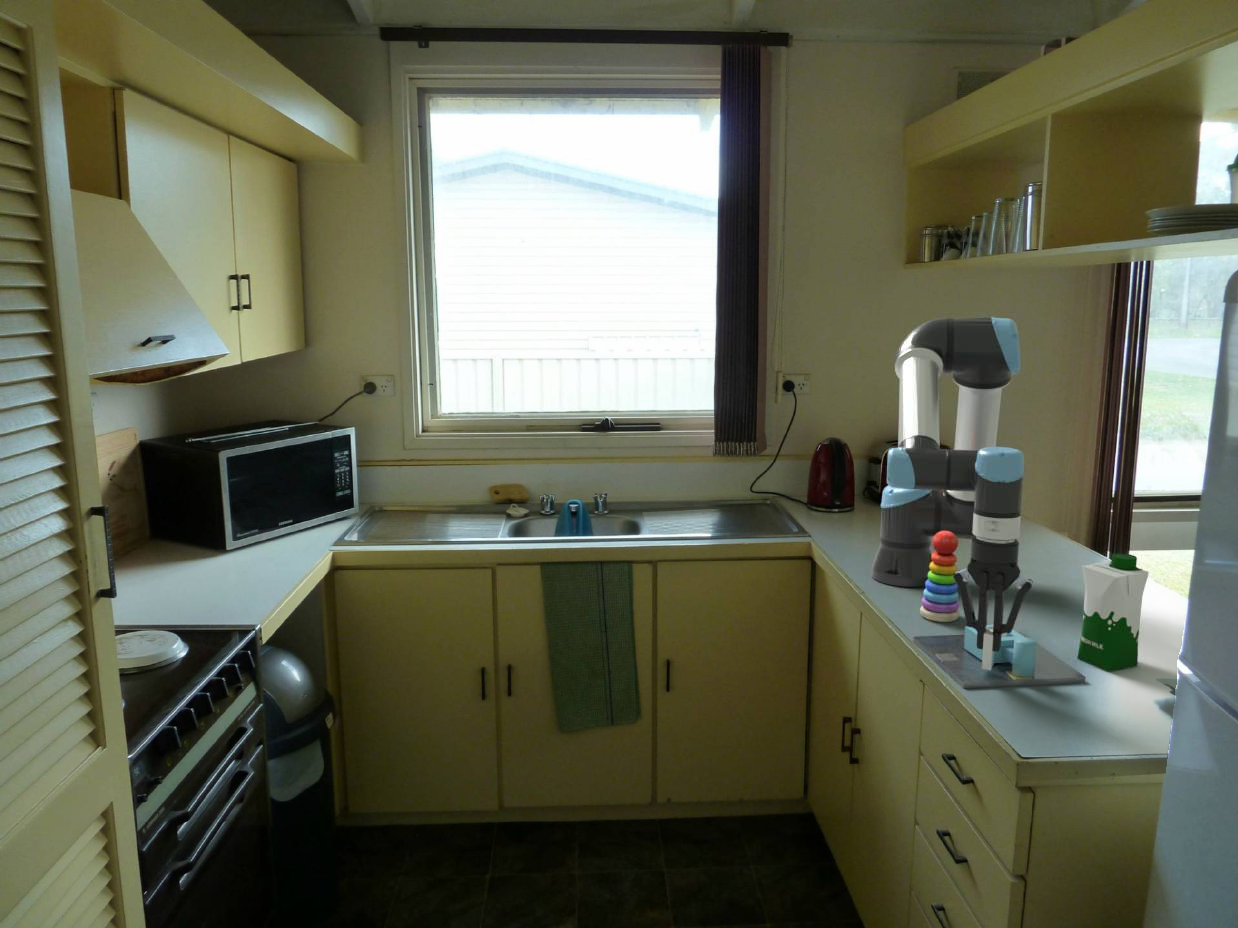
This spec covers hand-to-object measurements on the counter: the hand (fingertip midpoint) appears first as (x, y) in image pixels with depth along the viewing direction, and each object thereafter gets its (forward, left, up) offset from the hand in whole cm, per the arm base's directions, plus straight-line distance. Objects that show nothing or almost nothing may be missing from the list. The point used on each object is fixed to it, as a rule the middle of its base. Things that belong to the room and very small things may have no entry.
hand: (987, 666), depth 162 cm
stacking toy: (-32, +5, -3) cm, 32 cm away
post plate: (-8, +5, -2) cm, 10 cm away
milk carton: (-5, +25, -3) cm, 26 cm away
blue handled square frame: (-4, +5, -1) cm, 7 cm away
